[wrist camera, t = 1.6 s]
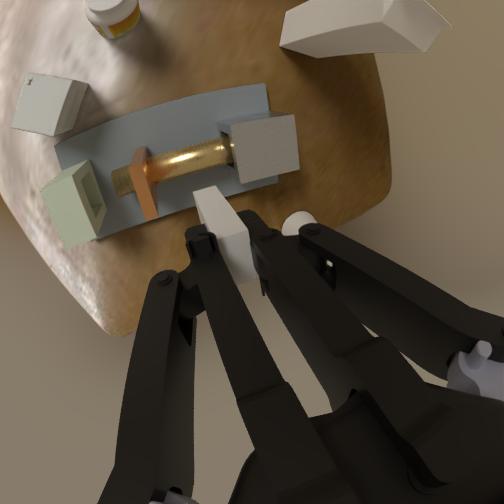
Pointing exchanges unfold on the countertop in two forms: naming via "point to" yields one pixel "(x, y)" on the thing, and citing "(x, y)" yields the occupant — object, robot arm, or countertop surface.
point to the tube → (167, 169)
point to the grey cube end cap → (261, 145)
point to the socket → (75, 204)
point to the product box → (48, 104)
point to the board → (162, 150)
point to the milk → (361, 27)
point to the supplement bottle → (113, 16)
